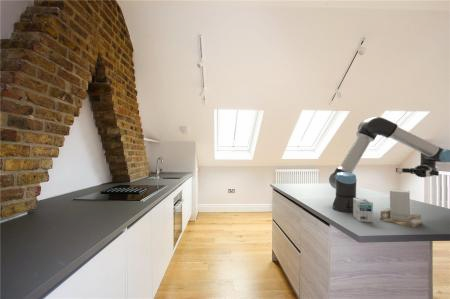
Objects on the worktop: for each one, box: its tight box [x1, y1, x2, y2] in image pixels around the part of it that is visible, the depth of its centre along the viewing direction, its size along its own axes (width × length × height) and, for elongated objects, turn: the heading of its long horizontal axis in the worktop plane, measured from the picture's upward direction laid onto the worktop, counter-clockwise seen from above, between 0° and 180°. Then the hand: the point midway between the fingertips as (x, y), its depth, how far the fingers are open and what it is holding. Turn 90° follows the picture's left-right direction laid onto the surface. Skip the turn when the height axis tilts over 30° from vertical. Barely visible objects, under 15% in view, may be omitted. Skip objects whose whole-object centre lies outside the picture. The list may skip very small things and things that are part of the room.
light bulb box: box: [352, 197, 374, 223], centre depth 128 cm, size 11×7×11 cm, turn 168°
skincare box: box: [389, 189, 411, 222], centre depth 125 cm, size 8×7×16 cm
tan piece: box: [379, 207, 422, 228], centre depth 125 cm, size 15×12×5 cm
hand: (411, 172), depth 134 cm, fingers open, 13 cm apart
